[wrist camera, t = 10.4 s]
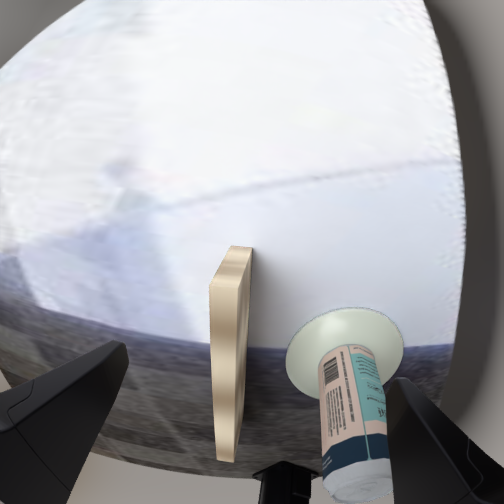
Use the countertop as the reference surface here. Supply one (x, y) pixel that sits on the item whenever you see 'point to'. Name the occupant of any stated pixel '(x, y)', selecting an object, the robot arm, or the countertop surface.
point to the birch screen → (229, 346)
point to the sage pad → (340, 333)
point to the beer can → (353, 426)
